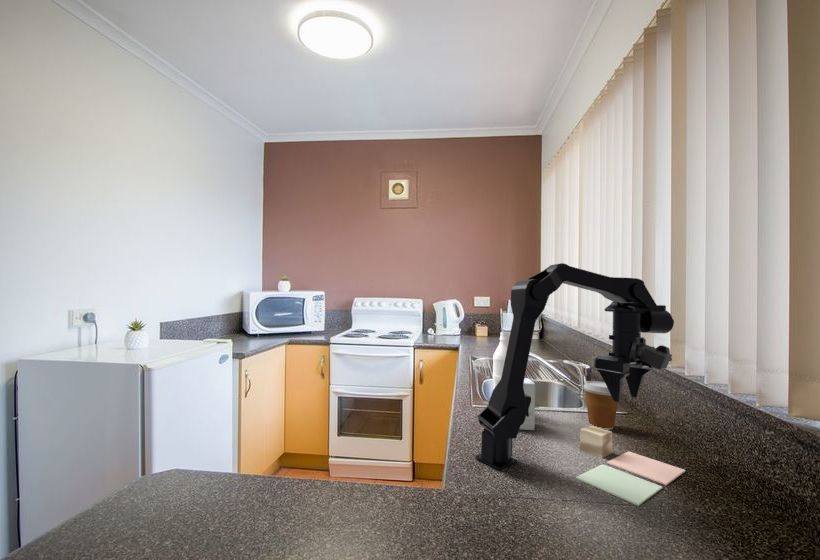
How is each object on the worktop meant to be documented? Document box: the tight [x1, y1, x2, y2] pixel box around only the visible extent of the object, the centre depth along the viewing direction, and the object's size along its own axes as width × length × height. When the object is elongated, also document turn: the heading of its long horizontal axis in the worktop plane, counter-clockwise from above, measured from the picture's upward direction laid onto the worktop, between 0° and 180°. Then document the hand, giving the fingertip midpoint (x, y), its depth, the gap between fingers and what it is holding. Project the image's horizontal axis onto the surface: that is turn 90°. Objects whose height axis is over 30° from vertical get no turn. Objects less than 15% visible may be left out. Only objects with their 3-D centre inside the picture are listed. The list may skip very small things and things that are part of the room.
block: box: [579, 425, 613, 459], centre depth 84 cm, size 5×5×5 cm
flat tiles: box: [575, 450, 686, 507], centre depth 72 cm, size 24×11×1 cm, turn 127°
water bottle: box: [492, 331, 511, 391], centre depth 112 cm, size 7×7×25 cm
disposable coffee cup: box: [582, 380, 619, 428], centre depth 102 cm, size 10×10×12 cm
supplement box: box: [519, 377, 536, 431], centre depth 100 cm, size 7×7×13 cm
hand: (625, 399), depth 83 cm, fingers open, 9 cm apart
